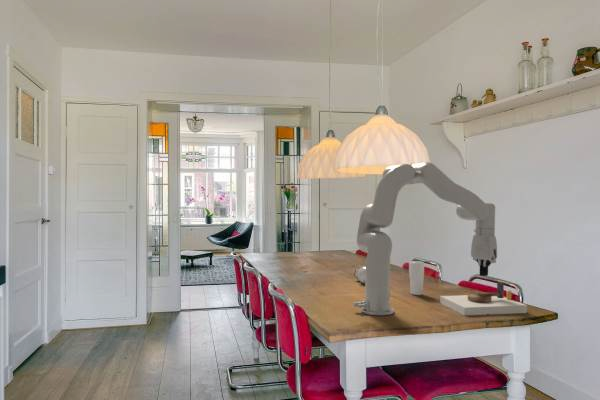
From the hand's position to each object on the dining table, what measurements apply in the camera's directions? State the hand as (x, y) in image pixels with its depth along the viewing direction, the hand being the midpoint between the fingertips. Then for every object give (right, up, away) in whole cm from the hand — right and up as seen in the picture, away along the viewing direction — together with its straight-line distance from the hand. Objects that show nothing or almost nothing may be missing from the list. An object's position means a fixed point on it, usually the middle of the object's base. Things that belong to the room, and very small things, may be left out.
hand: (483, 275), depth 189 cm
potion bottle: (-44, -12, +46) cm, 64 cm away
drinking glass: (-24, -12, +18) cm, 32 cm away
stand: (-4, -12, -7) cm, 14 cm away
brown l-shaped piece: (-2, -9, -7) cm, 11 cm away
